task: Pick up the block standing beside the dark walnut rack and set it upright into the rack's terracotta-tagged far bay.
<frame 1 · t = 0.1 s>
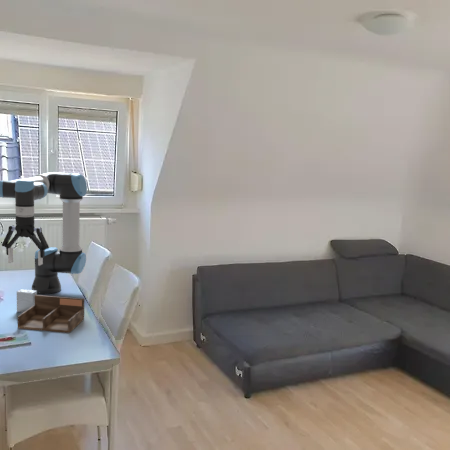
hand: (25, 263, 214), 28 cm above the table, fingers open, 13 cm apart
block: (27, 311, 234), on the table
rack: (51, 324, 220), on the table
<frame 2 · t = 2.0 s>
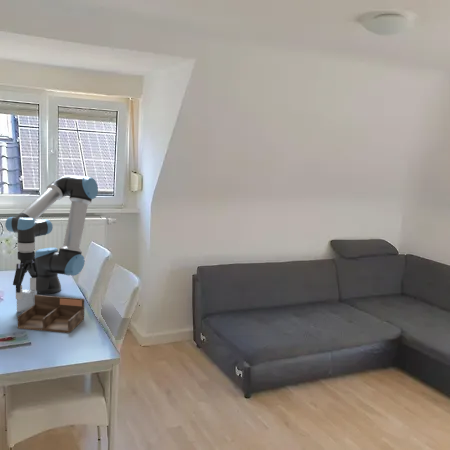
hand: (26, 294, 233), 8 cm above the table, fingers open, 13 cm apart
nothing on the table moved.
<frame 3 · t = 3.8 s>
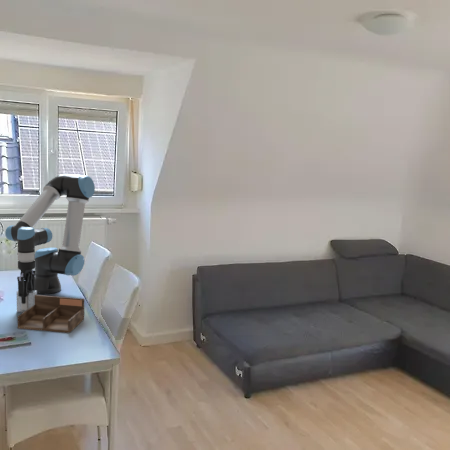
hand: (26, 307, 234), 2 cm above the table, fingers closed on block, 4 cm apart
block: (27, 311, 234), on the table, touching gripper
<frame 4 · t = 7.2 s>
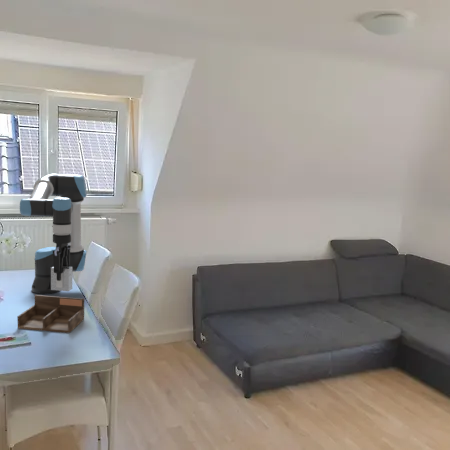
hand: (61, 285, 215), 19 cm above the table, fingers closed on block, 4 cm apart
block: (61, 289, 215), point 17 cm above the table, touching gripper
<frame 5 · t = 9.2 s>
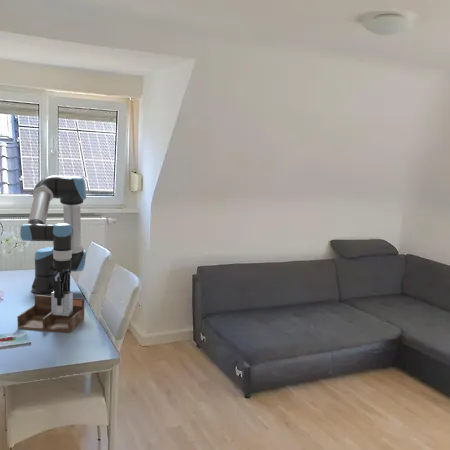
hand: (62, 310, 217), 8 cm above the table, fingers closed on block, 4 cm apart
block: (62, 313, 217), point 6 cm above the table, touching gripper
when the fingers open (3 cm above the table, at t = 10.8 s): block stays where it is, resting on rack.
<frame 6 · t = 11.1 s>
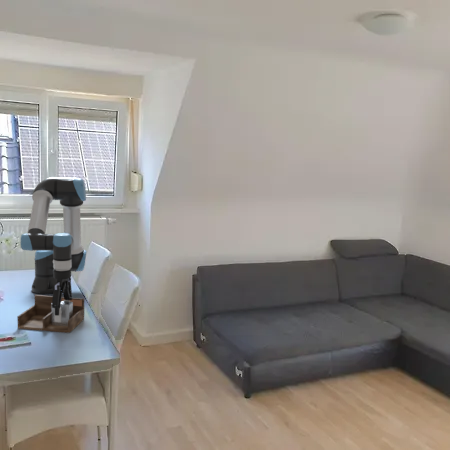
hand: (62, 317, 218), 4 cm above the table, fingers open, 9 cm apart
block: (62, 324, 218), point 1 cm above the table, touching rack
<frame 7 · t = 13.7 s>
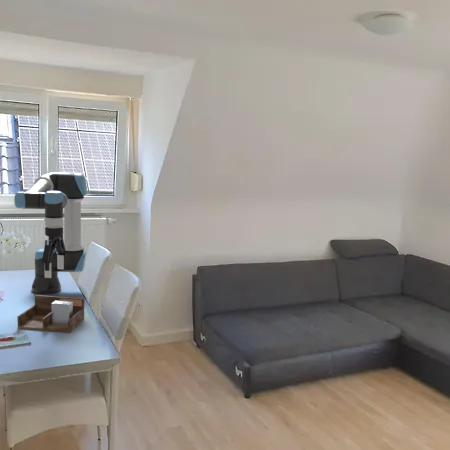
hand: (54, 273, 218), 23 cm above the table, fingers open, 13 cm apart
nothing on the table moved.
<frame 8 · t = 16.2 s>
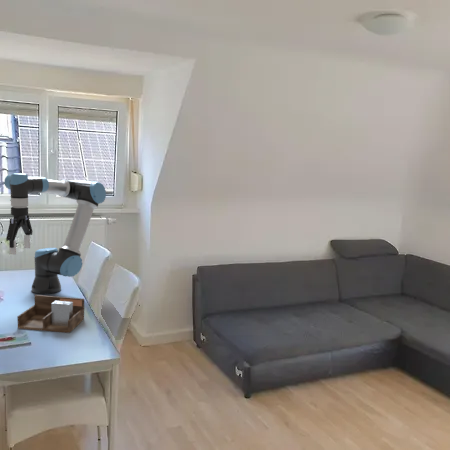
hand: (20, 251, 232), 29 cm above the table, fingers open, 13 cm apart
nothing on the table moved.
at the end: block inside the target area on the rack (0.7 cm from its centre), point 1.0 cm above the rack's base; block tilted 0°; the gripper is holding nothing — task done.
